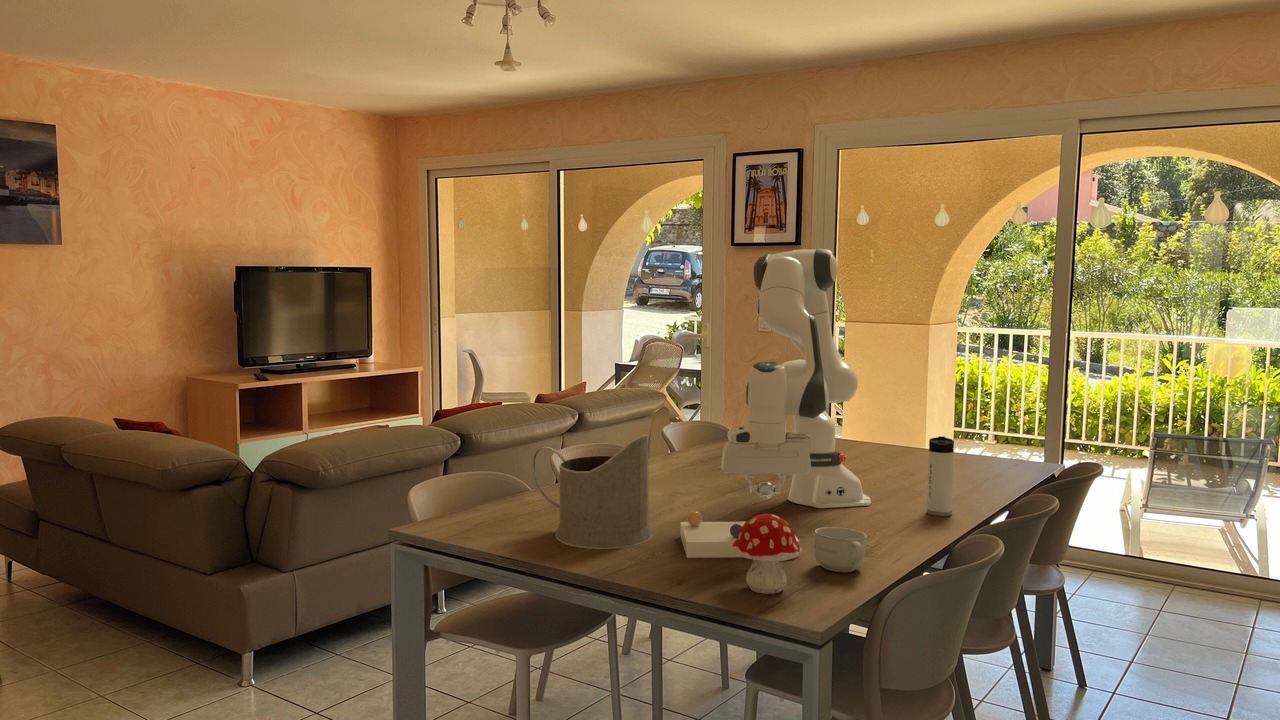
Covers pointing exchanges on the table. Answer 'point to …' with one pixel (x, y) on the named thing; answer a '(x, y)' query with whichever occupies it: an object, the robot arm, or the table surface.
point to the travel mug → (940, 476)
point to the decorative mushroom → (766, 551)
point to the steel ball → (765, 490)
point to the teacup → (839, 548)
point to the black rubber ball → (735, 530)
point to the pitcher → (603, 498)
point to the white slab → (709, 539)
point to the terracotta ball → (694, 518)
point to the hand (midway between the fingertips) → (765, 493)
